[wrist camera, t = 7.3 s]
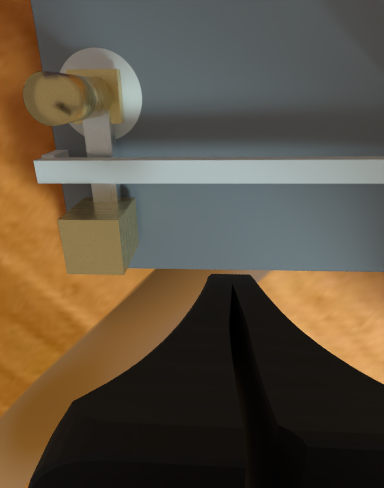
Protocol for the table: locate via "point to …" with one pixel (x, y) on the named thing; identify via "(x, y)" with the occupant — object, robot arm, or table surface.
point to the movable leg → (97, 145)
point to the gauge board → (232, 127)
